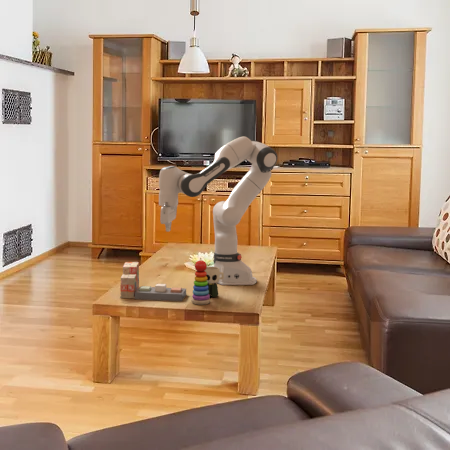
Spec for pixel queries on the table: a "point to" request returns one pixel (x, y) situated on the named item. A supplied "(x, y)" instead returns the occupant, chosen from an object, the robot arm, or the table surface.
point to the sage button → (145, 288)
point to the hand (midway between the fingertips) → (168, 231)
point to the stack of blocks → (129, 279)
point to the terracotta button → (176, 290)
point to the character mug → (213, 279)
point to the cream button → (160, 288)
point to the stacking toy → (200, 285)
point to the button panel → (160, 295)
